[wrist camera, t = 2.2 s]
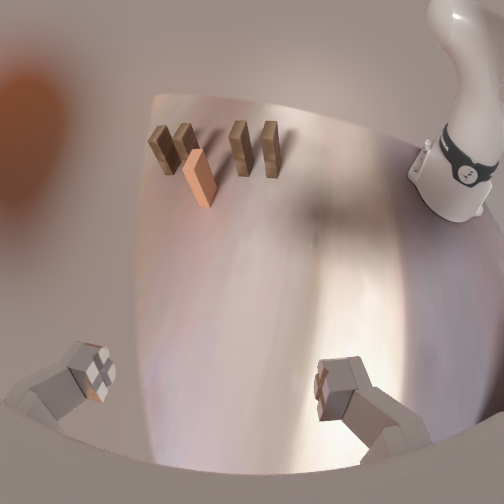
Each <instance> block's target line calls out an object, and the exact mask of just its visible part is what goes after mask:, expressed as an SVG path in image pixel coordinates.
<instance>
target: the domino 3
mask: <svg viewBox="0 0 504 504" xmlns="http://www.w3.org/2000/svg"><path fill="white" fill-rule="evenodd" d="M182 170H183V172H184V174H185V176H186V179H187V181H188V183H189V185H190V187H191V189H192V191H193V193H194V195H195V197H196V200H197V202H198V204H199V206H200V207H207V208H210V207H211V204H212V201H213V198H214V195H215V193H216V190H217V186H216V183H215V180H214V177H213V175H212V172H211V169H210V166H209V163H208V161H207V158H206V155H205V152H204V150H203V149H192V151H191V153H190V155H189V157H188V159H187V161H186V163H185V165H184V167H183V169H182Z"/></svg>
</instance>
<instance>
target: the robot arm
mask: <svg viewBox="0 0 504 504" xmlns="http://www.w3.org/2000/svg"><path fill="white" fill-rule="evenodd" d="M427 23H428V27H429V30H430V33H431V35H432V37H433V39H434V40H435V42H436V43H437V45H438V46H439V47H440V48H441V49H442V51H443V52H444V53H445V55H446V56H447V58H448V59H449V61H450V63H451V65H452V68H453V70H454V73H455V77H456V84H457V92H456V98H455V103H454V107H453V110H452V114H451V117H450V120H449V123H447V124H446V125H445V127H444V128H443V130H442V132H441V134H438V135H437V137H436V140H435V142H432V141H431V140H430V139H427V140H426V142H425V145H424V146H423V148H422V150H421V151H420V153H419V155H418V156H417V158H416V160H415V161H414V163H413V165H412V166H411V168H410V170H409V171H408V173H407V176H408V178H409V179H410V180H411V181H412V182H413V183H414V184H415V185H416V187H417V189H418V191H419V193H420V195H421V197H422V198H423V200H424V201H425V203H426V204H427V205H428V206H429V207H430V208H431V209H432V210H433V211H434V212H435V213H437V214H438V215H439V216H441V217H443V218H445V219H447V220H449V221H452V222H465V221H467V220H469V219H470V218H471V217H473V216H481V214H482V213H483V206H482V203H483V202H484V200H485V198H486V197H487V195H488V193H489V191H490V189H491V187H492V184H491V180H490V178H491V177H492V175H493V174H494V173H495V171H496V168H497V166H498V163H499V158H500V157H501V155H502V153H503V151H504V104H503V103H502V102H501V100H500V99H499V91H500V86H501V84H502V82H503V83H504V16H502V15H500V14H499V13H497V12H495V11H493V10H492V9H490V8H488V7H486V6H484V5H482V4H481V3H479V2H476V1H475V0H432V1H431V2H430V4H429V6H428V10H427ZM109 355H110V354H109V351H108V349H107V348H105V347H102V346H97V345H93V344H89V343H83V342H80V341H75V342H73V344H72V345H71V346H70V348H69V349H68V350H67V352H66V353H65V354H64V356H63V357H62V358H61V359H60V361H59V362H58V364H53V365H51V366H49V367H47V368H45V369H43V370H41V371H39V372H37V373H35V374H33V375H30V376H29V377H26V378H24V379H23V380H20V381H18V382H16V383H15V385H14V386H13V388H12V389H11V390H10V392H9V393H8V394H7V396H6V397H5V399H4V400H3V401H2V400H1V399H0V504H504V411H502V412H499V413H497V414H495V415H493V416H491V417H490V418H488V419H486V420H484V421H482V422H480V423H478V424H476V425H475V426H473V427H470V428H468V429H466V430H464V431H462V432H460V433H458V434H455V435H453V436H451V437H449V438H446V439H444V440H441V441H439V442H436V443H434V444H433V443H432V441H431V438H430V436H429V434H428V431H427V429H426V427H425V424H424V422H423V420H422V418H421V417H420V416H418V415H417V414H415V413H414V412H412V411H411V410H409V409H408V408H406V407H405V406H404V405H402V404H401V403H399V402H398V401H396V400H395V399H393V398H392V397H390V396H389V395H387V394H386V393H385V392H383V391H382V390H380V389H379V388H377V387H372V384H371V382H370V379H369V377H368V374H367V372H366V369H365V367H364V365H363V362H362V360H361V358H360V357H359V356H356V357H346V358H336V359H323V360H319V362H318V366H317V368H318V374H316V375H315V380H314V394H315V399H316V400H318V401H319V402H318V406H317V411H318V416H319V421H332V420H342V422H343V423H344V424H345V425H346V426H347V427H348V428H349V429H350V430H351V431H352V432H353V433H354V434H355V435H356V436H357V437H358V438H359V439H360V440H361V441H362V442H363V443H364V444H365V445H366V446H367V447H368V448H369V451H368V452H367V453H366V455H365V456H364V457H363V458H362V460H361V461H360V464H361V465H356V466H351V467H346V468H339V469H333V470H326V471H317V472H308V473H295V474H273V475H250V474H228V473H215V472H205V471H197V470H190V469H183V468H177V467H171V466H166V465H161V464H156V463H151V462H147V461H142V460H139V459H135V458H131V457H128V456H124V455H120V454H117V453H114V452H111V451H107V450H105V449H101V448H98V447H96V446H93V445H90V444H88V443H85V442H82V441H80V440H77V439H75V438H72V437H70V436H68V435H65V434H63V432H64V430H63V428H62V427H61V425H60V424H59V423H58V422H57V421H58V420H60V419H61V418H62V417H64V416H65V415H66V414H68V413H69V412H70V411H72V410H73V409H74V408H76V407H77V406H78V405H79V404H81V403H82V402H84V401H85V400H86V398H87V399H90V400H94V401H98V402H103V401H104V399H105V397H106V395H107V393H108V388H107V386H109V385H111V384H112V383H113V381H114V379H115V373H116V371H115V366H114V363H113V362H112V361H111V360H110V359H109V358H108V357H109Z"/></svg>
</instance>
